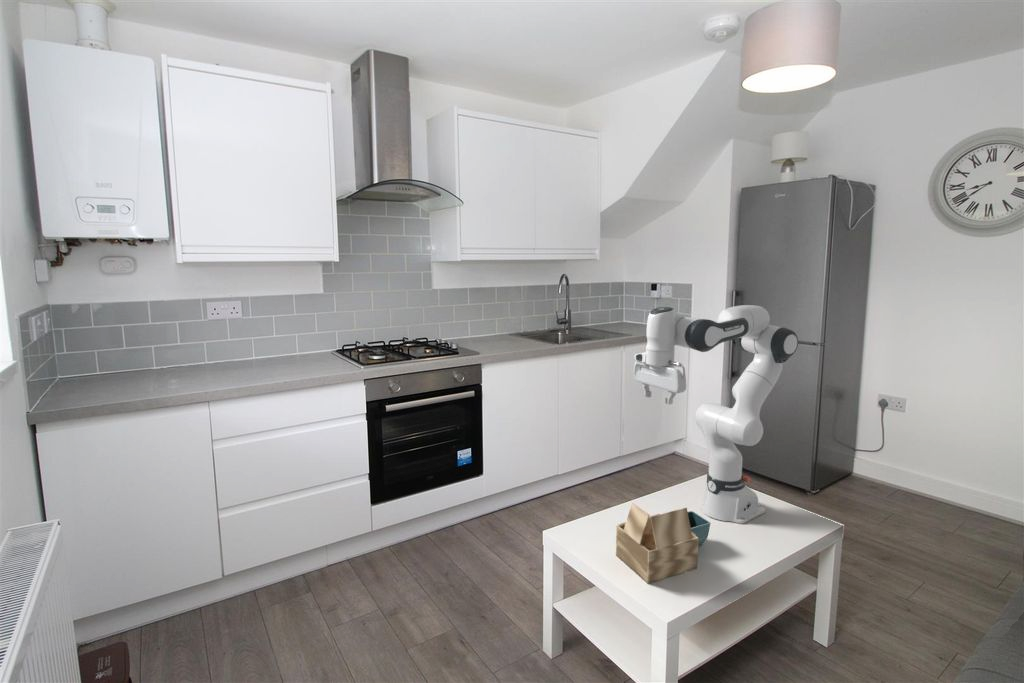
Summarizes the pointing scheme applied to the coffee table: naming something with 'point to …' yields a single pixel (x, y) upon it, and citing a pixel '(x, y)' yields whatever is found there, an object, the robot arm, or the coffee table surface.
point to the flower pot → (699, 527)
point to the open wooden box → (655, 555)
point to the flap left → (671, 528)
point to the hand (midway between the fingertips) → (658, 400)
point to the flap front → (636, 523)
